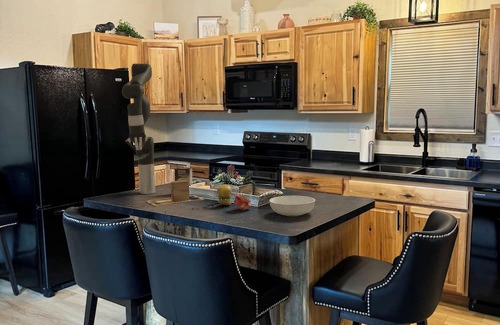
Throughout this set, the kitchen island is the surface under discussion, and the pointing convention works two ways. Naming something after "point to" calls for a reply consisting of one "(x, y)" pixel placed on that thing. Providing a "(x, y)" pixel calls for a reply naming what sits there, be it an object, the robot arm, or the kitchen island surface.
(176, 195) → the block
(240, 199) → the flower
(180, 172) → the coffee box
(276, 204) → the serving bowl
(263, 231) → the kitchen island surface
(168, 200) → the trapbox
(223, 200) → the hamburger
